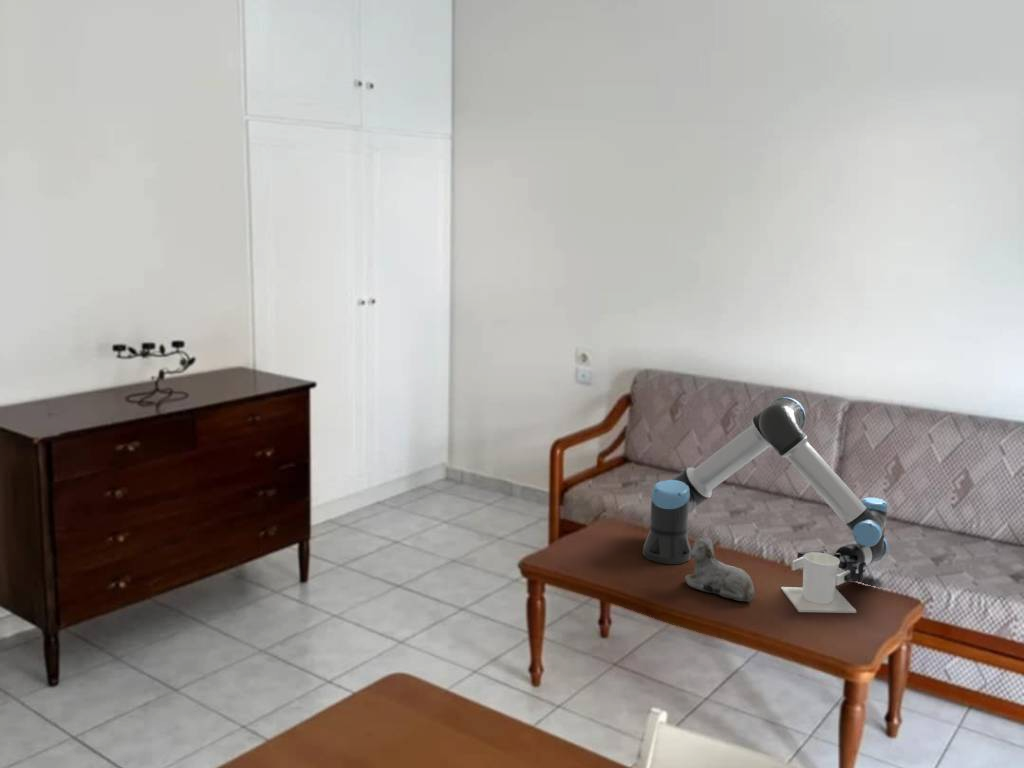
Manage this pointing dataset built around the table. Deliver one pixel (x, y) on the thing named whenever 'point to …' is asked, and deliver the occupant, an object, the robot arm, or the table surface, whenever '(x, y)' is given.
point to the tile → (803, 605)
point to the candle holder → (819, 577)
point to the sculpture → (718, 574)
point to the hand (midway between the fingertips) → (814, 573)
